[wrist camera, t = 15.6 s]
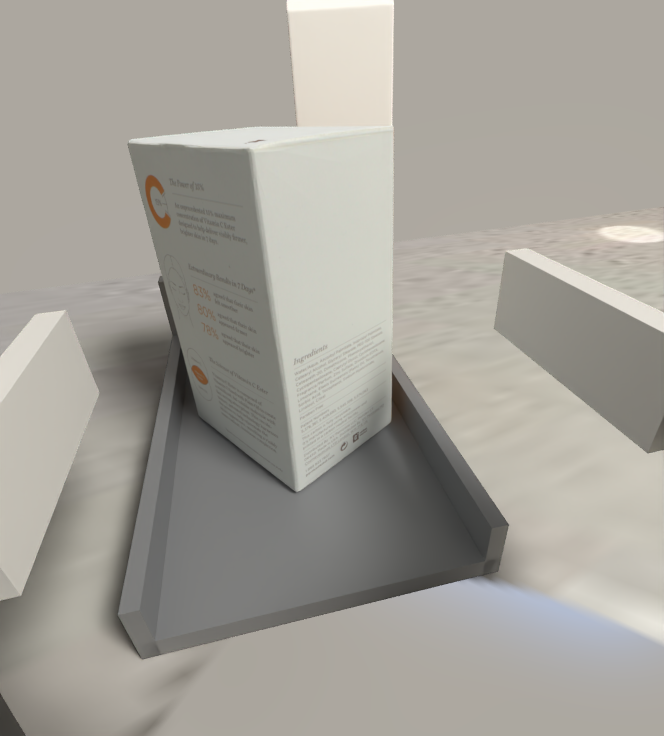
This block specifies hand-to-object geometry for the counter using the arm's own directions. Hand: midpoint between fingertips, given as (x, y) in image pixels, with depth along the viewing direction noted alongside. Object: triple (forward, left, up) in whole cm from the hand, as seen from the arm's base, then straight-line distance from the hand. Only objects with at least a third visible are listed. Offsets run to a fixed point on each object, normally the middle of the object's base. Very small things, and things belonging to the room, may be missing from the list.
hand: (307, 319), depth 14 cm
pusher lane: (-1, +6, -9) cm, 11 cm away
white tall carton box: (+6, +21, -9) cm, 24 cm away
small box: (0, +6, -8) cm, 10 cm away
